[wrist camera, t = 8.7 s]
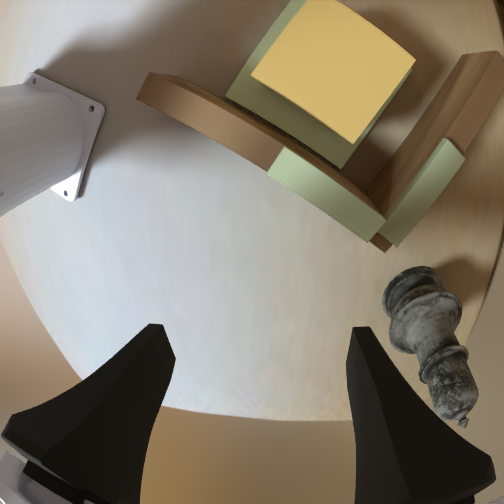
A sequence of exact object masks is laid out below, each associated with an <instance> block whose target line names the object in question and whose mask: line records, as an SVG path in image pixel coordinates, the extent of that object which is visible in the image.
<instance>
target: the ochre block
mask: <svg viewBox="0 0 504 504" xmlns="http://www.w3.org/2000/svg"><path fill="white" fill-rule="evenodd" d="M415 61H416V60H415V59H414V58H413V57H412V56H411V55H410V54H409V53H408V52H406V51H405V50H404V49H403V48H402V47H401V46H399V45H398V44H397V43H396V42H395V41H393V40H392V39H391V38H390V37H388V36H387V35H386V34H384V33H383V32H382V31H381V30H379V29H378V28H377V27H375V26H374V25H372V24H371V23H370V22H368V21H367V20H365V19H364V18H363V17H361V16H360V15H358V14H357V13H355V12H354V11H352V10H351V9H349V8H348V7H346V6H345V5H343V4H341V3H340V2H338V1H336V0H307V1H306V3H305V4H304V5H303V6H302V7H301V9H300V10H299V11H298V12H297V14H296V15H295V16H294V17H293V19H292V20H291V21H290V22H289V24H288V25H287V26H286V27H285V29H284V30H283V31H282V33H281V34H280V35H279V37H278V38H277V39H276V41H275V42H274V43H273V45H272V46H271V47H270V49H269V50H268V51H267V53H266V54H265V56H264V57H263V58H262V60H261V61H260V63H259V64H258V65H257V67H256V68H255V70H254V71H253V73H252V74H251V76H252V77H254V78H255V79H256V80H258V81H259V82H260V83H262V84H263V85H265V86H267V87H268V88H270V89H272V90H273V91H275V92H277V93H278V94H280V95H281V96H283V97H285V98H286V99H288V100H289V101H291V102H292V103H294V104H295V105H297V106H298V107H300V108H301V109H303V110H304V111H306V112H307V113H309V114H310V115H312V116H313V117H315V118H316V119H317V120H319V121H320V122H322V123H323V124H324V125H326V126H327V127H329V128H330V129H331V130H333V131H334V132H335V133H337V134H339V135H340V136H342V137H343V138H345V139H346V140H348V141H349V142H351V143H352V144H354V142H355V141H356V140H357V138H358V137H359V136H360V135H361V133H362V132H363V131H364V129H365V128H366V127H367V125H368V124H369V123H370V121H371V120H372V119H373V117H374V116H375V115H376V113H377V112H378V111H379V109H380V108H381V107H382V105H383V104H384V103H385V101H386V100H387V99H388V97H389V96H390V95H391V93H392V92H393V91H394V89H395V88H396V87H397V85H398V84H399V83H400V81H401V80H402V79H403V77H404V76H405V75H406V73H407V72H408V70H409V69H410V68H411V66H412V65H413V64H414V62H415Z"/></svg>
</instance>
